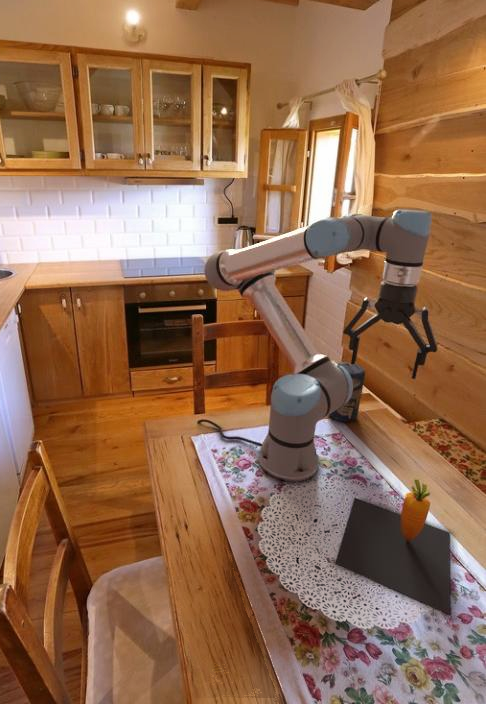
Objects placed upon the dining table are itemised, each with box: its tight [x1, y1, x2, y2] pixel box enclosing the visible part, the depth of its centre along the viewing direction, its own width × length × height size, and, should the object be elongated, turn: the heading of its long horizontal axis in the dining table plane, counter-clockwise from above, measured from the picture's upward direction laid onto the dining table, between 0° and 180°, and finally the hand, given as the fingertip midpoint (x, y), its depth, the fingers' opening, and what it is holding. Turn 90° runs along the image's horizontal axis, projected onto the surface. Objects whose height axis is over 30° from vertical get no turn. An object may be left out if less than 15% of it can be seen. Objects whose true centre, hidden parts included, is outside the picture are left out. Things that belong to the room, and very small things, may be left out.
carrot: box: [400, 477, 431, 541], centre depth 83 cm, size 5×5×15 cm
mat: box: [334, 497, 451, 616], centre depth 83 cm, size 20×20×1 cm
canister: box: [328, 361, 366, 422], centre depth 127 cm, size 10×10×18 cm
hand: (382, 369), depth 97 cm, fingers open, 13 cm apart
